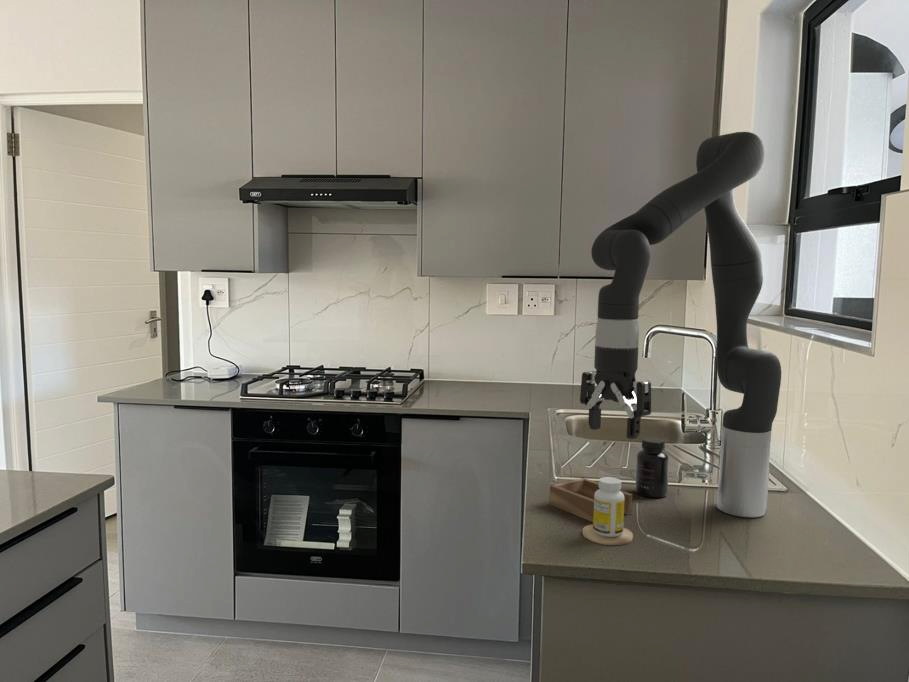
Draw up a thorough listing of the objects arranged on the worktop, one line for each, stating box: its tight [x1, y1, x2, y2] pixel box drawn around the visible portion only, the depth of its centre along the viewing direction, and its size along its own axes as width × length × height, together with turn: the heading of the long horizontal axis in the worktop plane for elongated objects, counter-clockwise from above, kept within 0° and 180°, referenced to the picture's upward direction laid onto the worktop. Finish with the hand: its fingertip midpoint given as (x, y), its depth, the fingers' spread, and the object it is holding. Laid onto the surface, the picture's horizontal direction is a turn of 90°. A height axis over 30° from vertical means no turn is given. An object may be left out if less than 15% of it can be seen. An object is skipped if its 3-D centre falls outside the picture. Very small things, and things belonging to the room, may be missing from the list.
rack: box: [548, 477, 633, 523], centre depth 143 cm, size 10×13×4 cm
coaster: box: [582, 523, 634, 546], centre depth 129 cm, size 9×9×1 cm
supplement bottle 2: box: [634, 437, 670, 499], centre depth 154 cm, size 7×7×12 cm
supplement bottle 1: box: [592, 476, 625, 537], centre depth 129 cm, size 5×5×10 cm
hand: (613, 433), depth 127 cm, fingers open, 8 cm apart
